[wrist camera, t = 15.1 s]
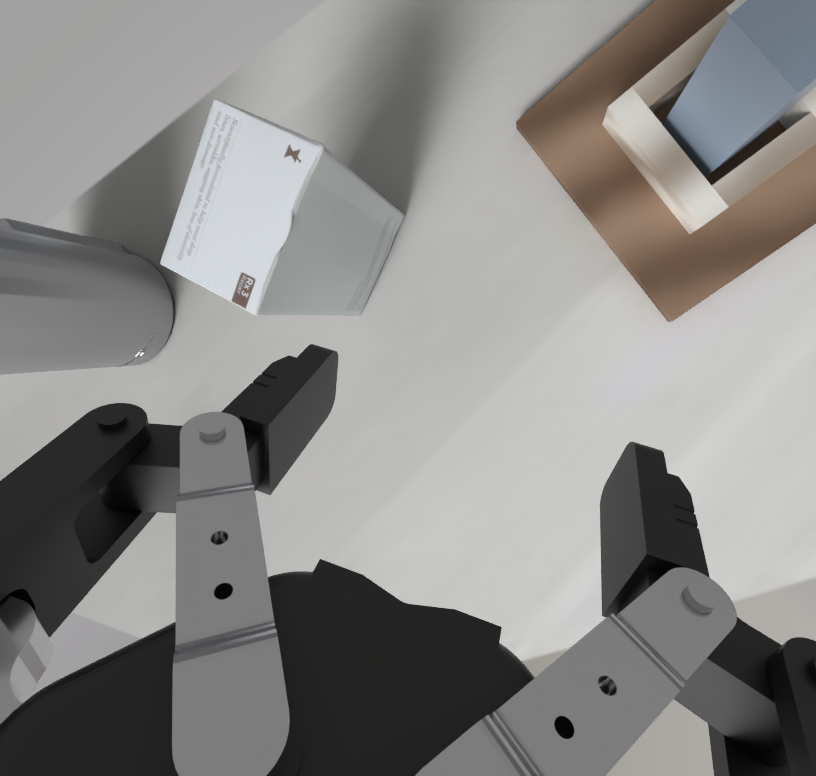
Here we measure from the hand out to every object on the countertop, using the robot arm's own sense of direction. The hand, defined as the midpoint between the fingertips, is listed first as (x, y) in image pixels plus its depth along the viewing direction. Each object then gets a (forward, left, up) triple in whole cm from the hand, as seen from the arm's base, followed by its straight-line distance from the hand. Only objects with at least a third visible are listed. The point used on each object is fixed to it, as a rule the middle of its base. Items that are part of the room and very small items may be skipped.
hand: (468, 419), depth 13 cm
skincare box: (-14, -4, -22) cm, 26 cm away
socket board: (-5, +18, -22) cm, 28 cm away
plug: (-4, +18, -21) cm, 28 cm away
